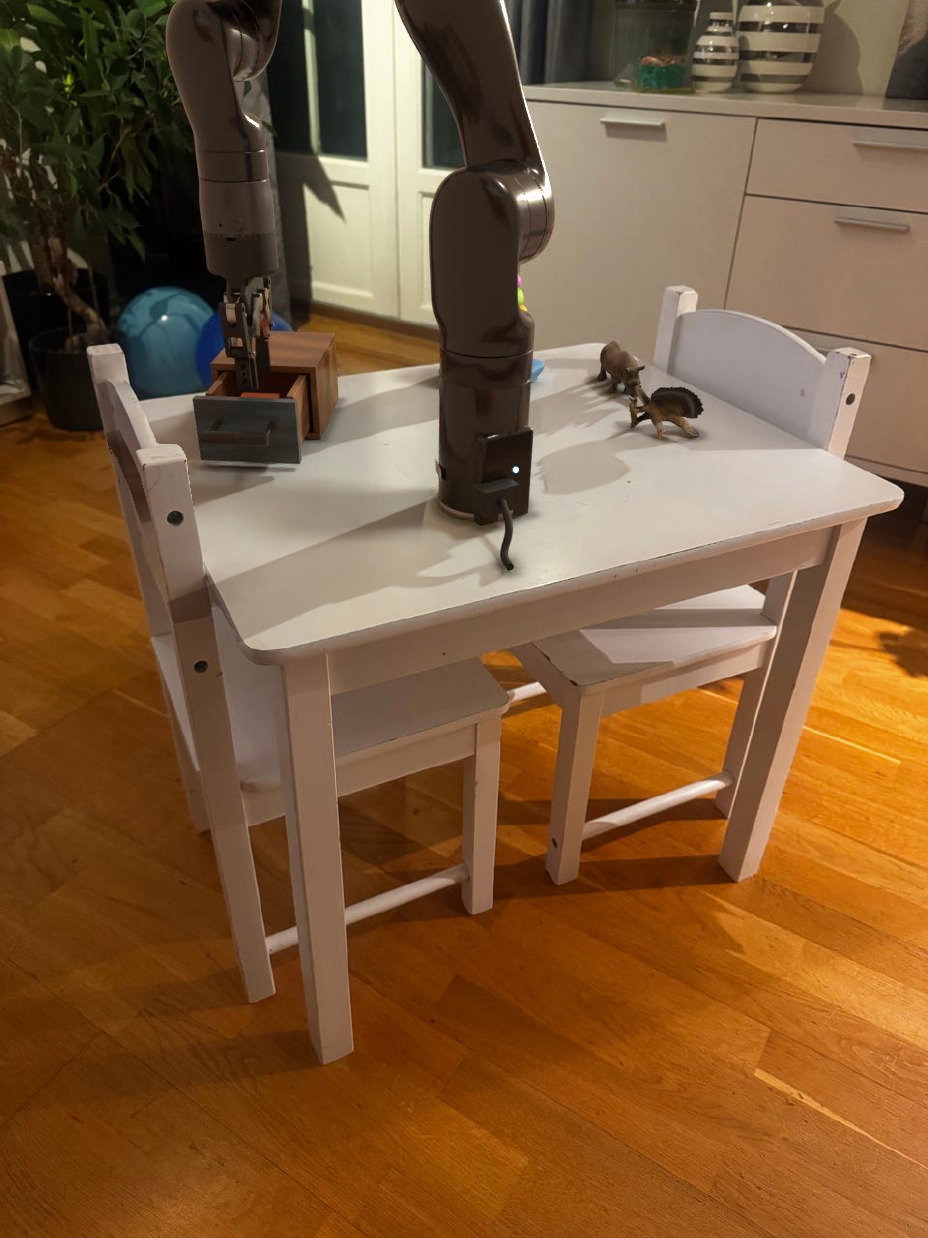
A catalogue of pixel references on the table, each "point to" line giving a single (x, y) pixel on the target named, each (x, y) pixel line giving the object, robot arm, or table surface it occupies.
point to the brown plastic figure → (667, 408)
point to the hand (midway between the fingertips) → (255, 381)
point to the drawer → (254, 419)
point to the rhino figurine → (620, 368)
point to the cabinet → (301, 369)
